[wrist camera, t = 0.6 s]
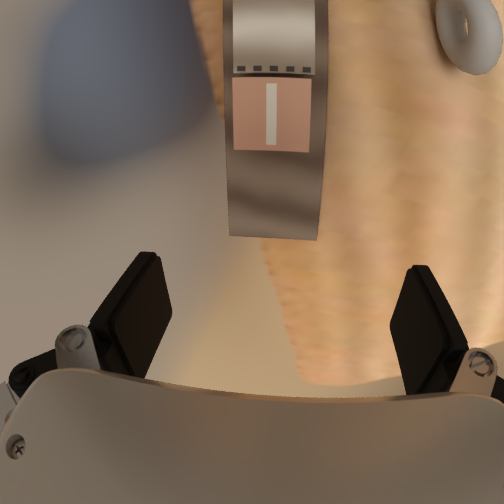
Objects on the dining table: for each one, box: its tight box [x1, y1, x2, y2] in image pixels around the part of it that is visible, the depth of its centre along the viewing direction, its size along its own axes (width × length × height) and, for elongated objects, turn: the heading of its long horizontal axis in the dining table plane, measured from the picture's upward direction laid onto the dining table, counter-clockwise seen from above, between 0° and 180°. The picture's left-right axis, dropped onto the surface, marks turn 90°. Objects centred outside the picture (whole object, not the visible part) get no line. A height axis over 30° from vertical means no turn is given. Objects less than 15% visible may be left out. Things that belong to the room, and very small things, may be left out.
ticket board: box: [223, 0, 328, 241], centre depth 24 cm, size 36×10×4 cm, turn 1°
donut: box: [435, 0, 503, 75], centre depth 16 cm, size 10×4×10 cm, turn 11°
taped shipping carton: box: [232, 77, 311, 152], centre depth 24 cm, size 6×6×6 cm
